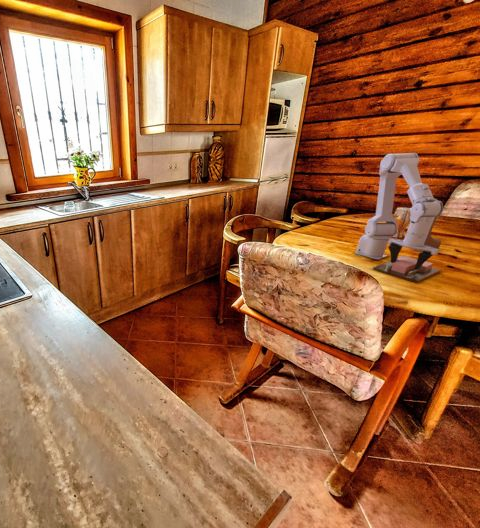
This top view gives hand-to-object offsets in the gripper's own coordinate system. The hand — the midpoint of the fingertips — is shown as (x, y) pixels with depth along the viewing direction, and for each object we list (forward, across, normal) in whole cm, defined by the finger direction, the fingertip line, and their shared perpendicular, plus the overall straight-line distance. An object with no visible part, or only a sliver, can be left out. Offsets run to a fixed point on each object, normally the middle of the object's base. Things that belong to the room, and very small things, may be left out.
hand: (404, 265), depth 110 cm
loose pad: (+2, 0, 0) cm, 2 cm away
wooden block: (+3, +10, -38) cm, 40 cm away
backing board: (+3, 0, -3) cm, 4 cm away
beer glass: (+3, +26, -46) cm, 53 cm away
